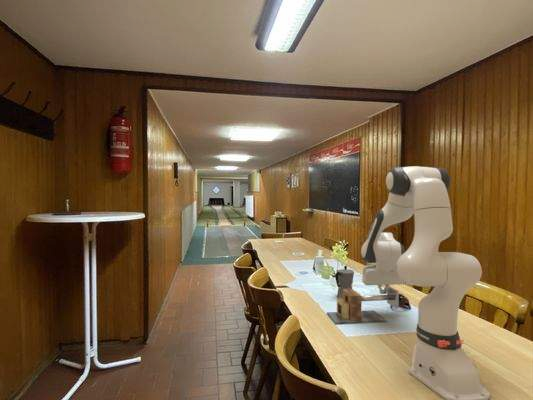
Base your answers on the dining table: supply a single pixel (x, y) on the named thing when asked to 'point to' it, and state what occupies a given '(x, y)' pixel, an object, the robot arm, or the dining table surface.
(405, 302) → the dark openwork dome
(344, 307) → the tan flat block
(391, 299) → the shaft
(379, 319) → the bearing block
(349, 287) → the coffeepot
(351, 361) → the dining table surface
